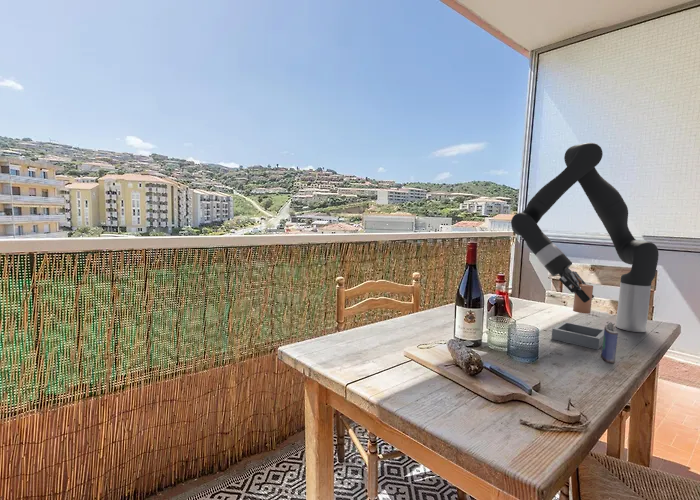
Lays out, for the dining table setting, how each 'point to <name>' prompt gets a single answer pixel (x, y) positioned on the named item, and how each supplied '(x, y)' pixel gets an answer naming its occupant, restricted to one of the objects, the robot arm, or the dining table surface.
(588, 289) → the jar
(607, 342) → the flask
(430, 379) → the dining table surface
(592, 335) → the tray
